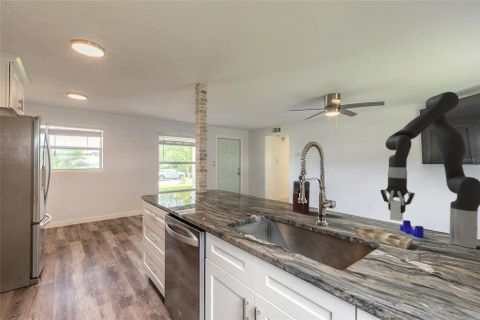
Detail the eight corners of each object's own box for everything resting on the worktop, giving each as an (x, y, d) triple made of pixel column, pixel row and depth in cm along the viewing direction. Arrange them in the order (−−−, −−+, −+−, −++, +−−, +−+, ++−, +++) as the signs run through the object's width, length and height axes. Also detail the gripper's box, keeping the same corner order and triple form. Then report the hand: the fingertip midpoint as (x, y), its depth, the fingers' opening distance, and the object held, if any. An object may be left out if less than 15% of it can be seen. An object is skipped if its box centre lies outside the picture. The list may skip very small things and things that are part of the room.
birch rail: (412, 244, 102) (412, 238, 102) (406, 249, 96) (406, 243, 96) (363, 231, 119) (363, 226, 119) (355, 234, 113) (355, 229, 113)
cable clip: (399, 230, 124) (400, 219, 124) (408, 230, 123) (408, 220, 123) (413, 237, 112) (414, 226, 112) (423, 238, 111) (423, 226, 111)
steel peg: (402, 219, 103) (403, 201, 103) (400, 221, 100) (400, 202, 100) (392, 217, 106) (393, 200, 106) (390, 219, 103) (390, 200, 103)
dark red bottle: (290, 211, 160) (291, 174, 160) (298, 209, 167) (299, 174, 167) (301, 214, 153) (302, 175, 153) (309, 212, 161) (310, 175, 161)
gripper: (417, 177, 100) (417, 213, 100) (383, 175, 111) (382, 208, 111) (413, 178, 95) (412, 216, 95) (377, 175, 106) (377, 210, 106)
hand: (396, 211), depth 103 cm, fingers closed on steel peg, 4 cm apart
